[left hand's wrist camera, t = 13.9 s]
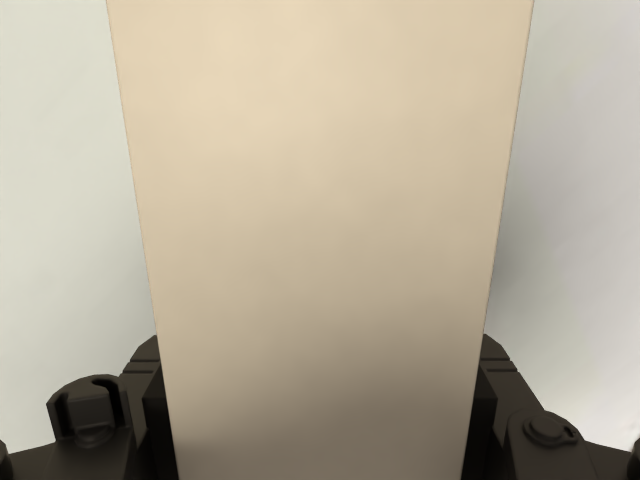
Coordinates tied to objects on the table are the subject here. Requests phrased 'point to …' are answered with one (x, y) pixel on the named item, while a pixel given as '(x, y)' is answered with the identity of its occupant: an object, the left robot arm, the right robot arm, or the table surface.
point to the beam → (319, 223)
